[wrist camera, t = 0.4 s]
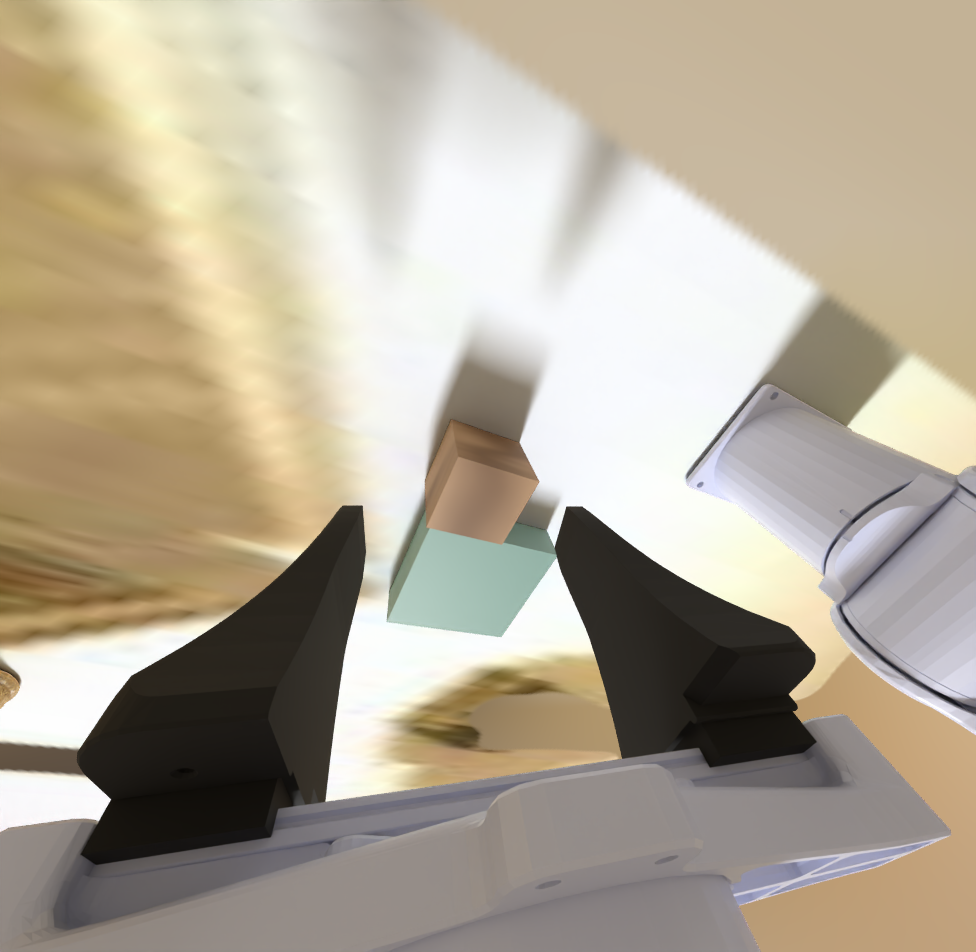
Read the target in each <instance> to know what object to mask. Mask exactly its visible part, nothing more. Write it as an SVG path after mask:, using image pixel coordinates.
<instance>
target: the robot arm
mask: <svg viewBox="0 0 976 952" xmlns="http://www.w3.org/2000/svg"><path fill="white" fill-rule="evenodd" d="M771 395H772V396H771ZM770 396H771V397H770ZM686 485H687V486H689V487H690V488H692V489H695V490H697V491H700V492H703V493H706V494H708V495H711V496H714V497H716V498H719V499H722V500H725V501H727V502H730V503H733V504H736V505H737V506H738V507H740V508H741V509H742V510H743V511H744V512H746V513H747V514H748V515H749V516H751V517H752V518H753V519H754V520H755V521H757V522H758V523H759V524H760V525H762V526H763V527H764V528H765V529H766V530H768V531H769V532H770V533H771V534H773V535H774V536H775V537H776V538H777V539H779V540H780V541H781V542H782V543H784V544H785V545H786V546H787V547H789V548H790V549H791V550H792V551H793V552H795V553H796V554H797V555H798V556H800V557H801V558H802V559H803V560H804V561H806V562H807V563H808V564H809V565H811V566H812V567H813V568H814V569H815V570H817V571H818V572H819V573H820V574H822V575H823V576H824V578H823V580H822V581H821V583H820V584H819V585H818V588H819V589H820V590H821V591H822V592H824V593H825V594H826V595H827V596H828V597H830V598H831V599H832V600H833V601H834V603H833V604H832V606H831V608H830V615H831V619H832V622H833V624H834V626H835V628H836V629H837V631H838V632H839V634H840V636H841V638H842V639H843V641H844V642H845V644H846V645H847V646H848V647H849V649H850V650H851V651H852V652H853V653H854V654H855V655H856V656H857V657H858V658H859V659H860V660H861V661H862V662H863V663H864V664H865V665H866V666H867V667H868V668H870V669H871V670H872V671H873V672H874V673H876V674H877V675H878V676H879V677H881V678H882V679H883V680H885V681H886V682H888V683H889V684H891V685H892V686H893V687H895V688H896V689H898V690H900V691H901V692H903V693H905V694H906V695H908V696H910V697H911V698H913V699H915V700H917V701H919V702H921V703H923V704H925V705H927V706H929V707H931V708H933V709H935V710H937V711H938V712H940V713H942V714H943V715H945V716H947V717H949V718H950V719H952V720H953V721H955V722H956V723H958V724H960V725H961V726H963V727H964V728H966V729H967V730H969V731H970V732H972V733H973V734H975V735H976V466H970V467H967V468H966V469H964V470H963V471H962V472H961V473H960V474H959V475H953V474H951V473H949V472H946V471H944V470H942V469H939V468H937V467H935V466H932V465H930V464H928V463H925V462H923V461H921V460H918V459H916V458H914V457H911V456H909V455H907V454H904V453H902V452H900V451H897V450H895V449H893V448H890V447H888V446H886V445H883V444H881V443H879V442H876V441H874V440H872V439H869V438H867V437H865V436H862V435H860V434H858V433H855V432H853V431H852V430H851V429H850V428H848V427H846V426H844V425H843V424H841V423H839V422H837V421H836V420H834V419H832V418H830V417H829V416H827V415H825V414H823V413H822V412H820V411H818V410H816V409H815V408H813V407H811V406H809V405H808V404H806V403H804V402H802V401H801V400H799V399H797V398H795V397H794V396H792V395H790V394H788V393H787V392H785V391H783V390H781V389H780V388H778V387H776V386H774V385H772V384H765V385H763V386H762V387H761V388H760V389H759V390H758V391H757V392H756V394H755V395H754V396H753V397H752V399H751V400H750V401H749V402H748V404H747V405H746V406H745V407H744V409H743V410H742V411H741V412H740V414H739V415H738V416H737V417H736V419H735V420H734V421H733V422H732V423H731V425H730V426H729V427H728V428H727V430H726V431H725V432H724V433H723V435H722V436H721V437H720V438H719V440H718V441H717V442H716V443H715V445H714V446H713V447H712V448H711V449H710V451H709V452H708V453H707V454H706V456H705V457H704V458H703V459H702V461H701V462H700V463H699V464H698V466H697V467H696V468H695V469H694V471H693V472H692V473H691V474H690V476H689V477H688V478H687V480H686ZM555 551H556V555H557V559H558V563H559V566H560V569H561V573H562V575H563V577H564V580H565V582H566V584H567V587H568V589H569V591H570V594H571V596H572V598H573V601H574V603H575V605H576V607H577V610H578V612H579V614H580V616H581V619H582V621H583V623H584V625H585V628H586V631H587V633H588V636H589V638H590V641H591V645H592V648H593V651H594V654H595V657H596V660H597V663H598V667H599V670H600V674H601V677H602V680H603V684H604V687H605V691H606V694H607V698H608V702H609V706H610V710H611V713H612V717H613V721H614V725H615V729H616V734H617V738H618V742H619V747H620V751H621V756H622V759H618V760H611V761H604V762H597V763H591V764H584V765H577V766H570V767H563V768H556V769H549V770H542V771H535V772H529V773H522V774H515V775H508V776H501V777H494V778H487V779H480V780H473V781H467V782H460V783H453V784H446V785H439V786H432V787H425V788H418V789H411V790H405V791H398V792H391V793H384V794H377V795H370V796H363V797H356V798H349V799H343V800H336V801H329V802H325V800H326V791H327V782H328V773H329V765H330V756H331V748H332V740H333V732H334V724H335V717H336V709H337V702H338V695H339V688H340V681H341V674H342V667H343V660H344V654H345V649H346V644H347V640H348V636H349V632H350V628H351V624H352V620H353V616H354V612H355V608H356V604H357V600H358V596H359V592H360V587H361V583H362V579H363V572H364V564H365V555H366V546H365V532H364V518H363V506H342V507H341V508H340V509H339V510H338V512H337V513H336V514H335V516H334V517H333V518H332V519H331V521H330V522H329V523H328V525H327V526H326V527H325V528H324V529H323V531H322V532H321V533H320V534H319V535H318V536H317V538H316V539H315V540H314V541H313V542H312V543H311V544H310V546H309V547H308V548H307V549H306V550H305V551H304V552H303V553H302V554H301V555H300V556H299V557H298V558H297V559H296V560H295V561H294V562H293V563H292V564H291V565H290V566H289V567H288V568H287V569H286V570H285V571H284V572H283V573H282V574H281V575H280V576H279V577H278V578H277V579H275V580H274V581H273V582H272V583H271V584H270V585H269V586H267V587H266V588H265V589H264V590H263V591H262V592H260V593H259V594H258V595H257V596H255V597H254V598H253V599H251V600H250V601H249V602H248V603H246V604H245V605H244V606H242V607H241V608H240V609H238V610H237V611H236V612H234V613H233V614H232V615H230V616H229V617H228V618H226V619H225V620H223V621H222V622H220V623H219V624H217V625H216V626H214V627H213V628H211V629H210V630H208V631H207V632H205V633H204V634H202V635H201V636H199V637H197V638H196V639H194V640H193V641H191V642H189V643H188V644H186V645H185V646H183V647H181V648H180V649H178V650H176V651H174V652H173V653H171V654H169V655H167V656H166V657H164V658H162V659H160V660H159V661H157V662H155V663H153V664H152V665H150V666H148V667H146V668H145V669H143V670H141V671H139V672H137V673H136V674H134V675H132V676H131V677H130V678H129V680H128V681H127V682H126V683H125V685H124V686H123V687H122V688H121V690H120V691H119V692H118V693H117V695H116V696H115V697H114V699H113V700H112V702H111V703H110V705H109V706H108V707H107V709H106V710H105V712H104V713H103V715H102V716H101V718H100V719H99V721H98V722H97V724H96V725H95V727H94V728H93V730H92V731H91V733H90V734H89V736H88V737H87V739H86V740H85V742H84V743H83V745H82V746H81V748H80V749H79V751H78V753H77V763H78V765H79V767H80V768H81V770H82V771H83V773H84V774H85V775H86V776H87V777H88V778H89V779H90V780H91V781H92V782H93V783H94V784H95V785H96V786H98V787H99V788H100V789H101V790H102V791H103V792H104V793H105V794H106V795H107V796H108V797H109V798H110V799H111V801H110V802H109V804H108V806H107V808H106V810H105V811H104V813H103V815H102V817H101V819H100V820H99V822H98V821H96V820H91V819H70V820H63V821H55V822H48V823H41V824H33V825H26V826H19V827H11V828H7V829H6V830H4V831H2V832H0V952H761V951H760V949H759V947H758V945H757V943H756V941H755V939H754V937H753V935H752V933H751V930H750V928H749V927H748V924H747V922H746V920H745V918H744V916H743V914H742V912H741V910H740V908H739V905H743V904H746V903H750V902H753V901H757V900H760V899H764V898H767V897H770V896H774V895H777V894H781V893H784V892H787V891H791V890H795V889H798V888H801V887H805V886H809V885H812V884H815V883H819V882H823V881H826V880H830V879H834V878H837V877H841V876H845V875H849V874H853V873H857V872H861V871H864V870H868V869H872V868H876V867H879V866H881V865H883V864H886V863H888V862H890V861H893V860H895V859H897V858H900V857H902V856H904V855H907V854H909V853H911V852H913V851H916V850H918V849H920V848H923V847H925V846H927V845H930V844H932V843H934V842H937V841H939V840H941V839H944V838H946V837H948V836H951V830H950V829H949V828H948V827H947V825H946V824H945V823H944V822H943V821H942V820H941V819H940V818H939V817H938V815H937V814H936V813H935V812H934V811H933V810H932V809H931V808H930V807H929V806H928V805H927V803H926V802H925V801H924V800H923V799H922V798H921V797H920V796H919V795H918V793H917V792H916V791H915V790H914V789H913V788H912V787H911V786H910V785H909V784H908V782H907V781H906V780H905V779H904V778H903V777H902V776H901V775H900V774H899V772H898V771H896V769H895V768H894V767H893V766H892V765H891V764H890V763H889V761H888V760H887V759H886V758H885V757H884V756H883V755H882V754H881V753H880V752H879V750H878V749H877V748H876V747H875V746H874V745H873V744H872V743H871V742H870V741H869V740H868V738H867V737H866V736H865V735H864V734H863V733H862V732H861V731H860V729H858V727H857V726H856V725H855V724H854V723H853V722H852V721H851V720H850V718H849V717H848V716H846V715H843V714H840V715H832V716H825V717H818V718H813V719H809V720H807V721H804V722H803V723H801V721H800V720H799V719H798V718H797V716H796V715H795V714H794V713H793V711H796V710H797V709H798V707H797V704H796V703H795V702H794V700H793V699H792V698H791V697H790V695H789V693H790V692H791V691H792V690H793V689H794V688H795V687H796V686H797V685H798V684H799V683H800V682H801V681H802V680H803V679H804V678H805V677H806V676H807V675H808V674H809V673H810V672H811V670H812V669H813V667H814V665H815V661H816V659H815V653H814V652H813V651H812V650H811V649H810V648H809V647H808V646H807V645H806V644H805V643H804V642H803V641H802V639H801V638H800V637H799V636H798V635H797V634H796V633H795V632H794V631H793V630H792V629H791V628H790V627H789V626H786V625H783V624H781V623H778V622H776V621H773V620H770V619H768V618H765V617H763V616H760V615H757V614H755V613H752V612H750V611H747V610H745V609H743V608H740V607H738V606H736V605H734V604H731V603H729V602H727V601H725V600H723V599H721V598H718V597H716V596H714V595H712V594H710V593H708V592H706V591H704V590H703V589H701V588H699V587H697V586H695V585H693V584H691V583H689V582H687V581H686V580H684V579H682V578H680V577H679V576H677V575H675V574H674V573H672V572H671V571H669V570H667V569H666V568H664V567H662V566H661V565H659V564H658V563H656V562H655V561H653V560H652V559H650V558H649V557H647V556H646V555H645V554H643V553H642V552H640V551H639V550H637V549H636V548H635V547H633V546H632V545H631V544H629V543H628V542H627V541H625V540H624V539H623V538H622V537H620V536H619V535H618V534H617V533H615V532H614V531H613V530H611V529H610V528H609V527H608V526H606V525H605V524H604V523H603V522H602V521H600V520H599V519H598V518H597V517H595V516H594V515H593V514H591V513H590V512H589V511H587V510H586V509H585V508H583V507H566V510H565V514H564V517H563V521H562V524H561V527H560V531H559V534H558V538H557V541H556V545H555Z"/></svg>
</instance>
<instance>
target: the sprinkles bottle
mask: <svg viewBox="0 0 976 952" xmlns="http://www.w3.org/2000/svg"><path fill="white" fill-rule="evenodd" d="M19 688H20V686H19V683H18V681H17V680H16V679H15V678H14V677H13V676H12V675H11V674H9V673H7V672H5V671H1V670H0V709H1V708H2V707H3V706H4V704H5V703H6V702H8V701H9V700H11V699H12V698H13V697H14V696H15V695H16V694H17V693H18V691H19Z"/></svg>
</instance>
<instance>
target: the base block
mask: <svg viewBox="0 0 976 952" xmlns="http://www.w3.org/2000/svg"><path fill="white" fill-rule="evenodd" d="M556 557H557V555H556V551H555V548H554V546H553V544H552V541H551V539H550V537H549V535H548V533H547V530H543V529H539V528H535V527H532V526H528V525H524V524H520V523H516V522H515V524H514V526H513V527H512V529H511V531H510V532H509V534H508V536H507V537H506V539H505V541H504V543H503V544H502V545H500V544H496V543H492V542H487V541H483V540H479V539H474V538H470V537H466V536H461V535H457V534H453V533H448V532H444V531H439V530H435V529H431V528H426V509H425V512H424V514H423V516H422V518H421V521H420V523H419V525H418V528H417V530H416V532H415V534H414V537H413V539H412V541H411V544H410V546H409V548H408V550H407V553H406V555H405V557H404V560H403V562H402V564H401V566H400V569H399V571H398V573H397V576H396V578H395V580H394V582H393V585H392V587H391V589H390V592H389V601H388V613H387V622H390V623H398V624H405V625H413V626H420V627H428V628H436V629H443V630H451V631H458V632H466V633H474V634H481V635H489V636H496V637H502V635H503V634H504V633H505V631H506V630H507V628H508V627H509V625H510V624H511V622H512V621H513V619H514V618H515V617H516V615H517V614H518V612H519V611H520V609H521V608H522V606H523V605H524V604H525V602H526V601H527V599H528V598H529V596H530V595H531V593H532V592H533V591H534V589H535V588H536V586H537V585H538V583H539V582H540V580H541V579H542V578H543V576H544V575H545V573H546V572H547V570H548V569H549V567H550V566H551V565H552V563H553V562H554V560H555V559H556Z"/></svg>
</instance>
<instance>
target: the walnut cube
mask: <svg viewBox="0 0 976 952" xmlns="http://www.w3.org/2000/svg"><path fill="white" fill-rule="evenodd" d="M538 483H539V480H538V478H537V476H536V474H535V472H534V470H533V468H532V467H531V465H530V463H529V461H528V459H527V457H526V455H525V453H524V451H523V449H522V447H521V445H520V443H519V442H516V441H513V440H510V439H507V438H504V437H501V436H499V435H496V434H493V433H490V432H487V431H484V430H481V429H478V428H476V427H473V426H470V425H467V424H464V423H461V422H458V421H455V420H453V419H451V420H450V423H449V425H448V427H447V430H446V432H445V435H444V437H443V439H442V442H441V444H440V446H439V449H438V451H437V454H436V456H435V458H434V461H433V463H432V466H431V468H430V470H429V473H428V475H427V478H426V480H425V502H426V528H431V529H435V530H439V531H444V532H448V533H453V534H457V535H461V536H466V537H470V538H474V539H479V540H483V541H487V542H492V543H496V544H500V545H502V544H503V543H504V541H505V539H506V537H507V536H508V534H509V532H510V531H511V529H512V527H513V526H514V524H515V522H516V521H517V519H518V517H519V515H520V514H521V512H522V510H523V509H524V507H525V505H526V504H527V502H528V500H529V499H530V497H531V495H532V493H533V492H534V490H535V488H536V487H537V485H538Z"/></svg>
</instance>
